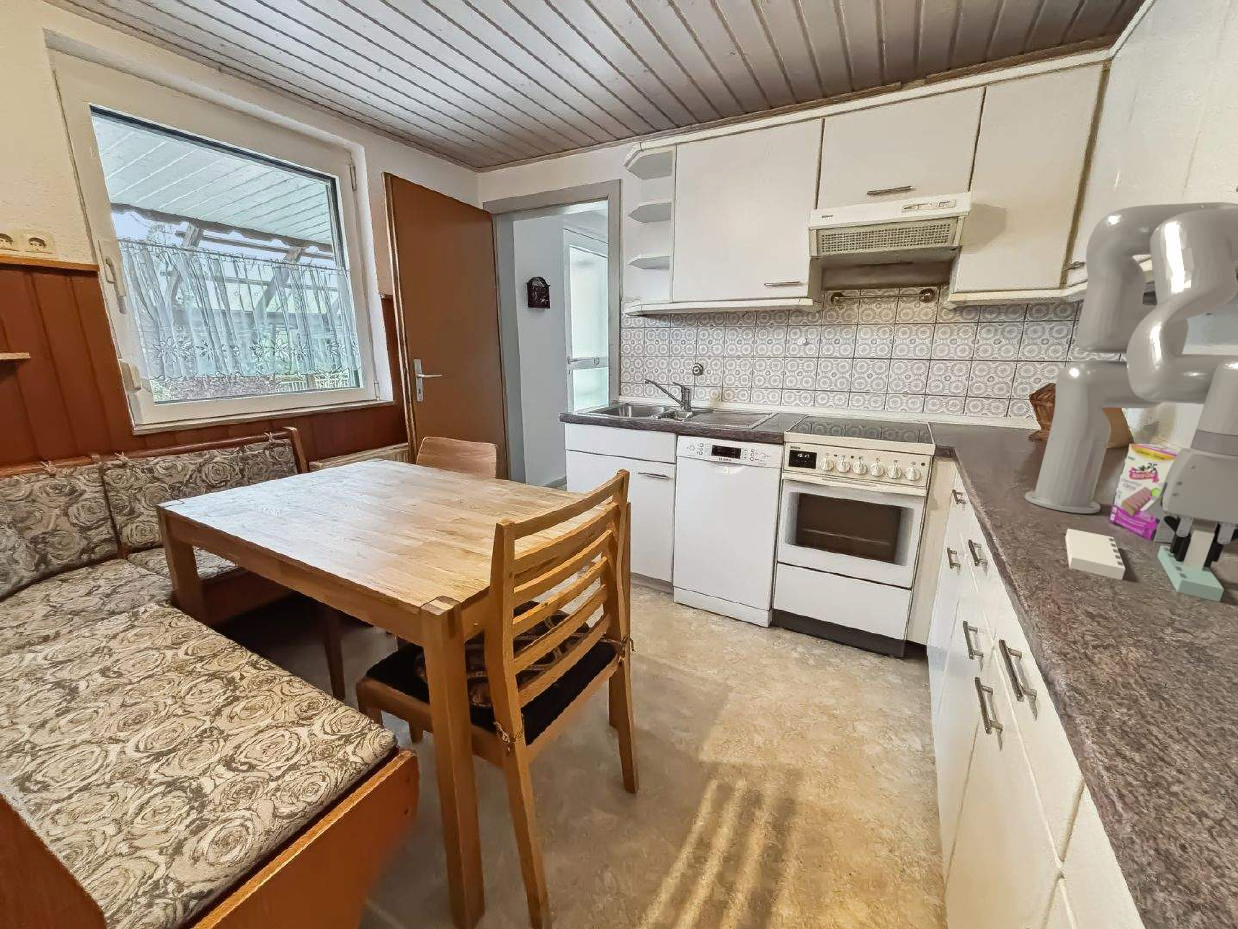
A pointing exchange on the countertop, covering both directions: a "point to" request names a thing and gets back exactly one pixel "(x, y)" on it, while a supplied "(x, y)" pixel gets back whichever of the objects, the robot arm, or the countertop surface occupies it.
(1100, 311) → the robot arm
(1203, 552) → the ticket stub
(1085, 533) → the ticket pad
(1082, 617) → the countertop surface
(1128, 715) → the countertop surface
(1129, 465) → the candy bar box
